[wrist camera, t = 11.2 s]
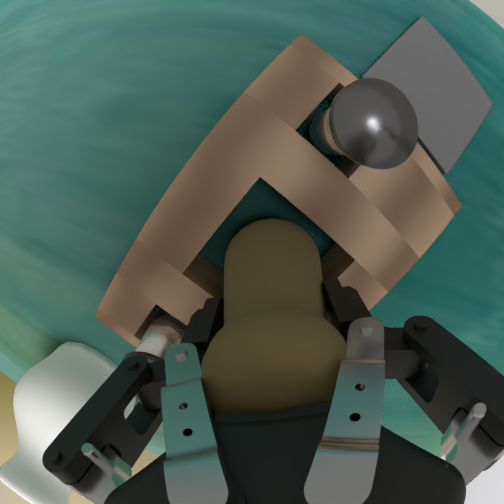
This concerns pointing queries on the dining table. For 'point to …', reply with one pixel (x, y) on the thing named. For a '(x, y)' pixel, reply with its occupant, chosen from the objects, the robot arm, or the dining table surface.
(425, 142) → the pad
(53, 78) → the dining table surface
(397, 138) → the plunger
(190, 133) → the dining table surface
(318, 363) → the cork
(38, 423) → the vase
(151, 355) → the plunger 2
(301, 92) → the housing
